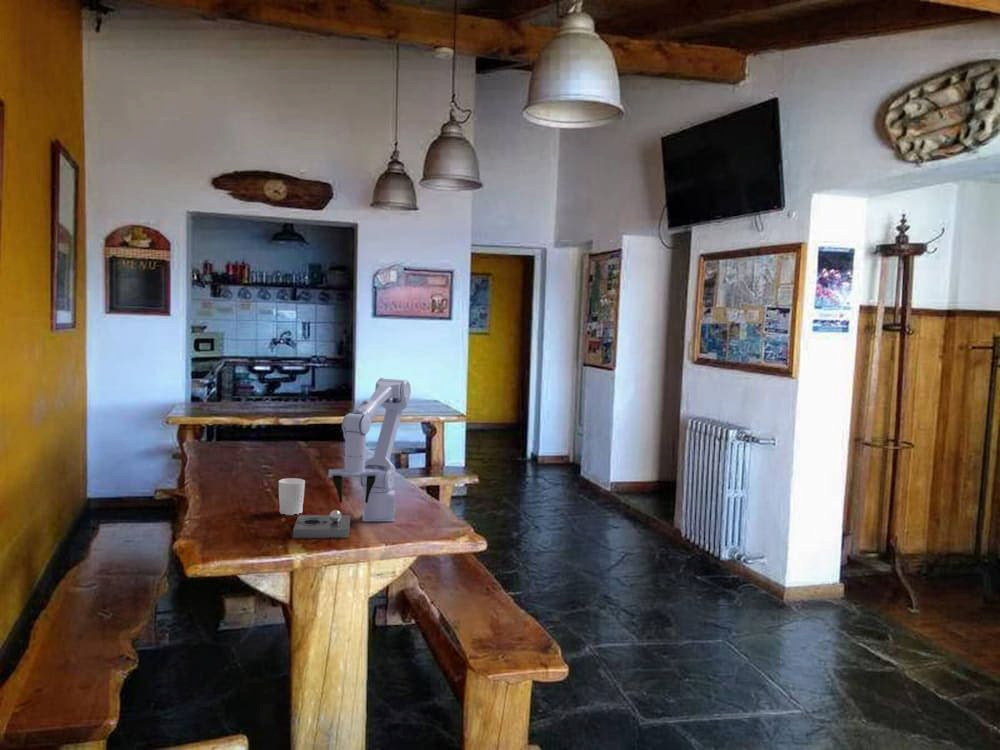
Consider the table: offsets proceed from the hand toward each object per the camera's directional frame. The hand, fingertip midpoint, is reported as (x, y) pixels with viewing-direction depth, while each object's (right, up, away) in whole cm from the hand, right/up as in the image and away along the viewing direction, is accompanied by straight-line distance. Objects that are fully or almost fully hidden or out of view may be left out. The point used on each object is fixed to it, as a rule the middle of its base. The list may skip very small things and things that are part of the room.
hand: (353, 501), depth 216 cm
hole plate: (-9, -8, -1) cm, 12 cm away
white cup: (-23, -6, +17) cm, 29 cm away
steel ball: (-5, -4, -1) cm, 7 cm away
